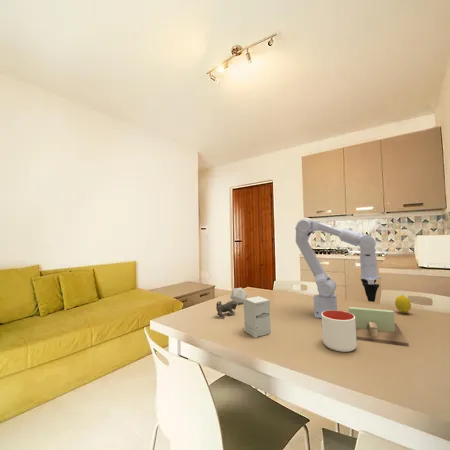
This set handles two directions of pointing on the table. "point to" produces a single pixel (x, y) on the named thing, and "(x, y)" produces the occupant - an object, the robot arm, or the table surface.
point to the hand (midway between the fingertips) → (370, 298)
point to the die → (238, 295)
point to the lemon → (403, 304)
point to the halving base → (381, 335)
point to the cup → (339, 330)
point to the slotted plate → (373, 318)
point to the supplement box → (257, 316)
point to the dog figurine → (226, 308)
